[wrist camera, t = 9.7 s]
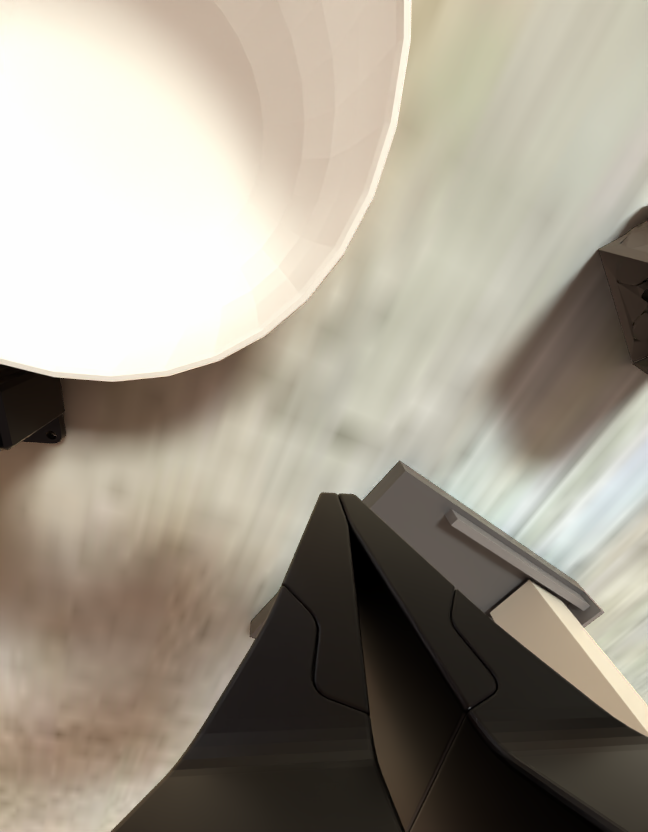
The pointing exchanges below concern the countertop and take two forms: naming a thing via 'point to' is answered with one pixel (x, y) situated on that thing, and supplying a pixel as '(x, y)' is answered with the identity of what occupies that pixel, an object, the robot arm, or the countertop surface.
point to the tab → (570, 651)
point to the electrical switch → (630, 288)
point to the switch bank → (463, 547)
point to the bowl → (182, 171)
